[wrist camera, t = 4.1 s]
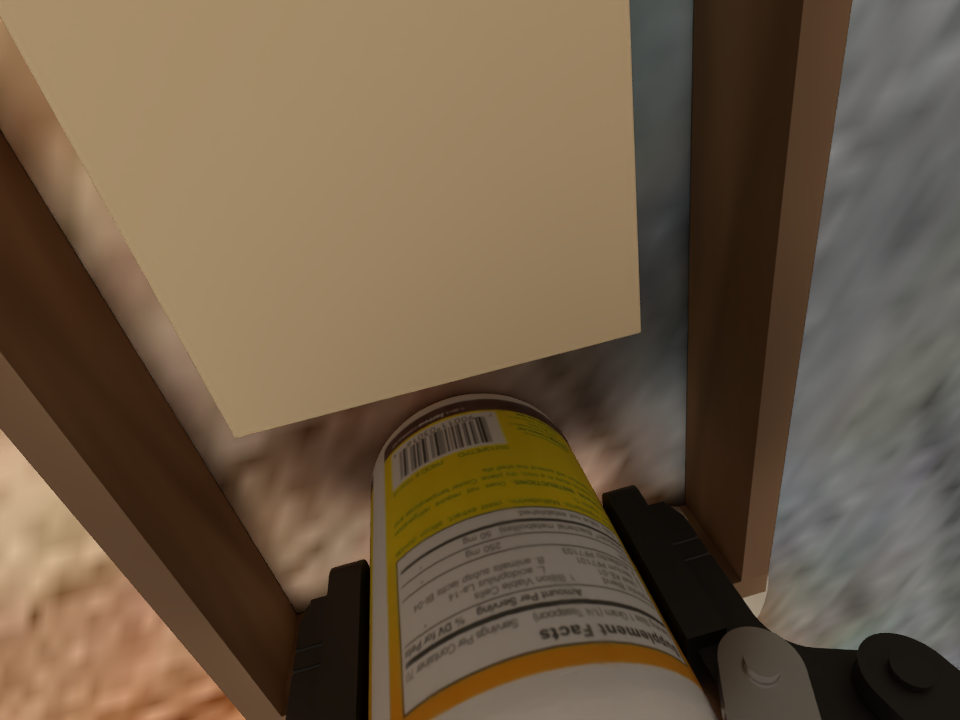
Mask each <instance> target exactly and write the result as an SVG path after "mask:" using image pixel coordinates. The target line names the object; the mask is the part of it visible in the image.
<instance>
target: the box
mask: <svg viewBox="0 0 960 720" xmlns="http://www.w3.org/2000/svg"><path fill="white" fill-rule="evenodd" d="M0 17H1V19H2V20H3V22H4V24H5V26H6V28H7V29H8V31H9V33H10V35H11V37H12V38H13V40H14V42H15V44H16V46H17V47H18V49H19V51H20V53H21V55H22V56H23V58H24V60H25V62H26V64H27V65H28V67H29V69H30V71H31V73H32V74H33V76H34V78H35V80H36V82H37V83H38V85H39V87H40V89H41V91H42V92H43V94H44V96H45V98H46V100H47V101H48V103H49V105H50V107H51V109H52V110H53V112H54V114H55V116H56V117H57V119H58V121H59V123H60V125H61V126H62V128H63V130H64V132H65V134H66V135H67V137H68V139H69V141H70V143H71V144H72V146H73V148H74V150H75V152H76V153H77V155H78V157H79V159H80V161H81V162H82V164H83V166H84V168H85V170H86V171H87V173H88V175H89V177H90V179H91V180H92V182H93V184H94V186H95V188H96V189H97V191H98V193H99V195H100V197H101V198H102V200H103V202H104V204H105V206H106V207H107V209H108V211H109V213H110V214H111V216H112V218H113V220H114V222H115V223H116V225H117V227H118V229H119V231H120V232H121V234H122V236H123V238H124V240H125V241H126V243H127V245H128V247H129V249H130V250H131V252H132V254H133V256H134V258H135V259H136V261H137V263H138V265H139V267H140V268H141V270H142V272H143V274H144V276H145V277H146V279H147V281H148V283H149V285H150V286H151V288H152V290H153V292H154V294H155V295H156V297H157V299H158V301H159V303H160V304H161V306H162V308H163V310H164V311H165V313H166V315H167V317H168V319H169V320H170V322H171V324H172V326H173V328H174V329H175V331H176V333H177V335H178V337H179V338H180V340H181V342H182V344H183V346H184V347H185V349H186V351H187V353H188V355H189V356H190V358H191V360H192V362H193V364H194V365H195V367H196V369H197V371H198V373H199V374H200V376H201V378H202V380H203V382H204V383H205V385H206V387H207V389H208V391H209V392H210V394H211V396H212V398H213V400H214V401H215V403H216V405H217V407H218V408H219V410H220V412H221V414H222V416H223V417H224V419H225V421H226V423H227V425H228V426H229V428H230V430H231V432H232V434H233V435H234V437H235V438H237V437H241V436H245V435H249V434H253V433H257V432H261V431H264V430H268V429H272V428H276V427H280V426H284V425H287V424H291V423H295V422H299V421H303V420H307V419H310V418H314V417H318V416H322V415H326V414H330V413H334V412H337V411H341V410H345V409H349V408H353V407H357V406H360V405H364V404H368V403H372V402H376V401H380V400H383V399H387V398H391V397H395V396H399V395H403V394H407V393H410V392H414V391H418V390H422V389H426V388H430V387H433V386H437V385H441V384H445V383H449V382H453V381H456V380H460V379H464V378H468V377H472V376H476V375H479V374H483V373H487V372H491V371H495V370H499V369H503V368H506V367H510V366H514V365H518V364H522V363H526V362H529V361H533V360H537V359H541V358H545V357H549V356H552V355H556V354H560V353H564V352H568V351H572V350H576V349H579V348H583V347H587V346H591V345H595V344H599V343H602V342H606V341H610V340H614V339H618V338H622V337H625V336H629V335H633V334H637V333H641V320H640V292H639V263H638V235H637V206H636V178H635V150H634V121H633V93H632V65H631V36H630V8H629V0H0Z"/></svg>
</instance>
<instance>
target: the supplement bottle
mask: <svg viewBox="0 0 960 720" xmlns="http://www.w3.org/2000/svg"><path fill="white" fill-rule="evenodd" d="M370 528H371V535H370V615H369V700H368V720H718V718H717V716H716V714H715V712H714V710H713V708H712V706H711V704H710V702H709V700H708V698H707V696H706V694H705V693H704V691H703V689H702V687H701V685H700V683H699V682H698V680H697V678H696V676H695V674H694V673H693V671H692V669H691V667H690V665H689V663H688V662H687V660H686V658H685V656H684V654H683V652H682V651H681V649H680V647H679V645H678V643H677V642H676V640H675V638H674V636H673V634H672V633H671V631H670V629H669V627H668V625H667V624H666V622H665V620H664V618H663V616H662V614H661V613H660V611H659V609H658V607H657V605H656V603H655V602H654V600H653V598H652V596H651V594H650V592H649V591H648V589H647V587H646V585H645V583H644V581H643V579H642V578H641V576H640V574H639V572H638V570H637V568H636V566H635V565H634V563H633V561H632V559H631V558H630V556H629V554H628V553H627V551H626V549H625V547H624V545H623V543H622V541H621V540H620V538H619V536H618V534H617V532H616V530H615V528H614V526H613V525H612V523H611V521H610V519H609V517H608V515H607V514H606V512H605V510H604V508H603V506H602V504H601V503H600V501H599V499H598V497H597V495H596V493H595V492H594V490H593V488H592V486H591V484H590V483H589V481H588V479H587V477H586V475H585V473H584V472H583V470H582V468H581V466H580V464H579V462H578V461H577V459H576V457H575V455H574V453H573V452H572V450H571V448H570V446H569V444H568V442H567V440H566V439H565V437H564V436H563V434H562V433H561V431H560V430H559V429H558V427H557V426H556V425H555V424H554V423H553V421H552V420H551V419H550V418H549V417H547V416H546V415H545V414H544V413H543V412H541V411H540V410H538V409H537V408H535V407H534V406H532V405H530V404H528V403H526V402H524V401H521V400H519V399H516V398H512V397H509V396H504V395H498V394H486V393H484V394H467V395H460V396H456V397H451V398H448V399H445V400H442V401H439V402H437V403H434V404H432V405H430V406H428V407H426V408H424V409H422V410H421V411H419V412H417V413H416V414H414V415H413V416H411V417H410V418H409V419H408V420H406V421H405V422H404V423H403V424H401V425H400V426H399V427H398V428H397V429H396V431H395V432H394V433H393V434H392V435H391V436H390V438H389V439H388V440H387V442H386V443H385V445H384V446H383V448H382V450H381V452H380V454H379V456H378V458H377V461H376V464H375V467H374V470H373V475H372V483H371V523H370Z"/></svg>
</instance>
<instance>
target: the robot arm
mask: <svg viewBox="0 0 960 720" xmlns="http://www.w3.org/2000/svg"><path fill="white" fill-rule="evenodd" d="M602 501H603V508H604V510H605V512H606V514H607V515H608V517H609V519H610V521H611V523H612V525H613V526H614V528H615V530H616V532H617V534H618V536H619V538H620V540H621V541H622V543H623V545H624V547H625V549H626V551H627V553H628V554H629V556H630V558H631V559H632V561H633V563H634V565H635V566H636V568H637V570H638V572H639V574H640V576H641V578H642V579H643V581H644V583H645V585H646V587H647V589H648V591H649V592H650V594H651V596H652V598H653V600H654V602H655V603H656V605H657V607H658V609H659V611H660V613H661V614H662V616H663V618H664V620H665V622H666V624H667V625H668V627H669V629H670V631H671V633H672V634H673V636H674V638H675V640H676V642H677V643H678V645H679V647H680V649H681V651H682V652H683V654H684V656H685V658H686V660H687V662H688V663H689V665H690V667H691V669H692V671H693V673H694V674H695V676H696V678H697V680H698V682H699V683H700V685H701V687H702V689H703V691H704V693H705V694H706V696H707V698H708V700H709V702H710V704H711V706H712V708H713V710H714V712H715V714H716V716H717V718H718V720H960V671H959V670H958V669H957V668H956V667H955V666H953V665H952V664H951V663H950V662H948V661H947V660H946V659H945V658H944V657H942V656H941V655H940V654H938V653H937V652H936V651H934V650H933V649H932V648H930V647H928V646H927V645H925V644H923V643H921V642H919V641H917V640H915V639H912V638H909V637H907V636H903V635H899V634H893V633H879V634H874V635H872V636H869V637H867V638H866V639H865V640H864V641H863V642H862V643H861V644H860V646H859V649H858V650H843V649H825V648H811V647H805V646H801V645H797V644H794V643H791V642H789V641H787V640H785V639H783V638H781V637H780V636H778V635H777V634H775V633H773V632H771V631H770V630H769V629H767V628H766V627H765V626H764V625H763V624H762V623H761V622H760V621H759V620H758V619H757V618H756V616H755V615H754V614H753V612H752V611H751V610H750V608H749V607H748V605H747V604H746V602H745V601H744V600H743V598H742V597H741V595H740V594H739V593H738V591H737V590H736V588H735V587H734V586H733V584H732V583H731V581H730V580H729V579H728V577H727V576H726V574H725V573H724V571H723V570H722V569H721V567H720V566H719V564H718V563H717V562H716V560H715V559H714V557H713V556H712V555H710V553H709V550H708V549H707V548H706V546H705V545H704V543H703V542H702V541H701V539H699V538H698V535H697V533H696V532H695V531H694V529H693V528H692V526H691V525H690V524H689V522H688V521H687V519H686V518H685V517H684V515H682V514H681V513H679V512H678V511H676V510H675V509H674V508H672V507H671V506H669V505H668V504H666V503H665V502H664V501H663V502H660V503H656V504H653V505H648V504H647V502H646V501H645V499H644V498H643V496H642V495H641V493H640V491H639V490H638V489H637V488H636V487H635V486H634V485H631V486H628V487H624V488H620V489H617V490H613V491H610V492H606V493H603V495H602ZM369 615H370V567H369V565H368V563H367V561H366V560H365V559H363V560H359V561H356V562H352V563H349V564H345V565H341V566H338V567H334V568H332V569H331V571H330V574H329V583H328V593H327V596H324V597H320V598H317V599H313V600H311V602H310V604H309V606H308V608H307V610H306V612H305V614H304V616H303V618H302V620H301V622H300V624H299V630H298V637H297V644H296V654H295V657H294V664H293V676H292V678H291V685H290V692H289V699H288V706H287V713H286V720H368V700H369Z"/></svg>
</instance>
